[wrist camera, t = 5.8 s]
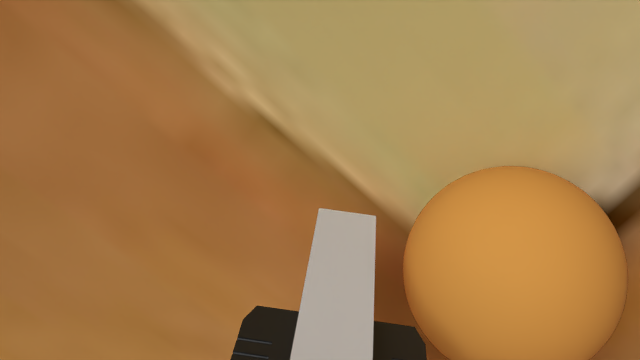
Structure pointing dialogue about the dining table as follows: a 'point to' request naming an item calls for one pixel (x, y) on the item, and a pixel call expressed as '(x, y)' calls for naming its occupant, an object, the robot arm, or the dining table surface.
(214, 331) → the dining table surface
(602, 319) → the ball
